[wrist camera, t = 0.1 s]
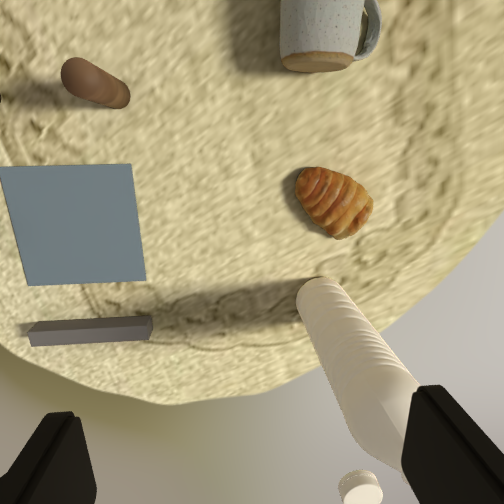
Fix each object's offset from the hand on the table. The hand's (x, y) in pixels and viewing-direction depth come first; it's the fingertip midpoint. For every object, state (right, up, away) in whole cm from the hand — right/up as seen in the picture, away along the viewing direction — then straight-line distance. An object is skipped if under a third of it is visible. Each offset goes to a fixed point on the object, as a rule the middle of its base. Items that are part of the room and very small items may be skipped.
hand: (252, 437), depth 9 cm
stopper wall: (-20, -4, +33) cm, 39 cm away
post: (-14, +22, +25) cm, 36 cm away
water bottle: (+8, -1, +34) cm, 35 cm away
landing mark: (-20, +8, +29) cm, 36 cm away
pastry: (+10, +11, +30) cm, 34 cm away
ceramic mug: (+7, +28, +24) cm, 38 cm away
